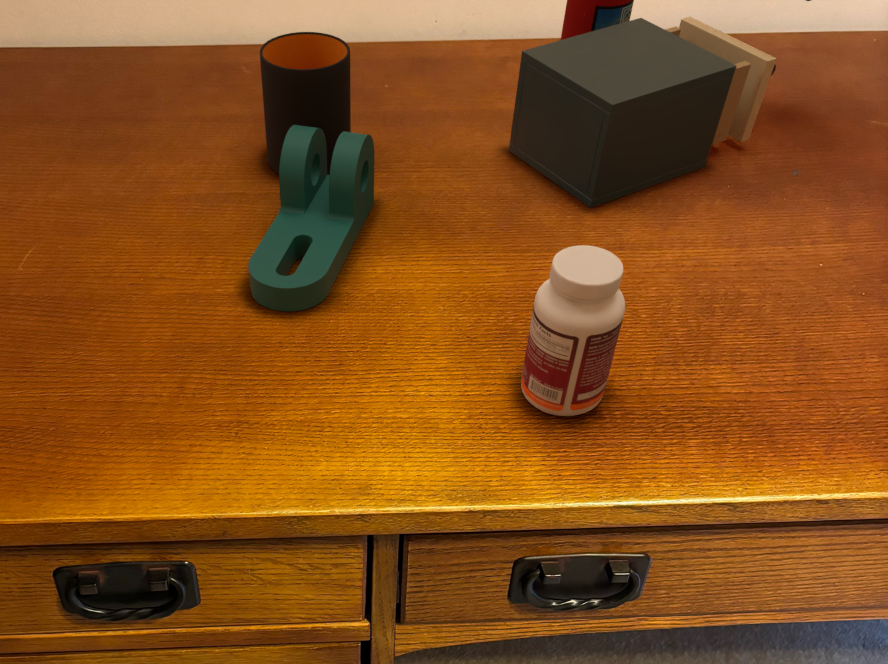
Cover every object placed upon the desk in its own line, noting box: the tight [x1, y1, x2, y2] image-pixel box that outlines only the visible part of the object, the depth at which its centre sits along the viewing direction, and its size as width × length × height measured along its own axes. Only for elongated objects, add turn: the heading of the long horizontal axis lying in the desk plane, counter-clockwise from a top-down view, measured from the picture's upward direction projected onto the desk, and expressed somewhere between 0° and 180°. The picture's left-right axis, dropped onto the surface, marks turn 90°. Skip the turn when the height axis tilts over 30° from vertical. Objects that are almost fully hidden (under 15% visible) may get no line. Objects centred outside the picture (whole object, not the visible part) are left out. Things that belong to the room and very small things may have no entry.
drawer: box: [664, 16, 778, 146], centre depth 90 cm, size 18×11×8 cm, turn 120°
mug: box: [259, 31, 352, 175], centre depth 88 cm, size 8×12×10 cm
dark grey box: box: [508, 17, 737, 209], centre depth 87 cm, size 15×13×10 cm
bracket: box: [247, 125, 376, 313], centre depth 78 cm, size 18×7×8 cm, turn 164°
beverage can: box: [560, 0, 635, 40], centre depth 97 cm, size 7×7×12 cm
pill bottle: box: [520, 244, 626, 417], centre depth 64 cm, size 6×6×11 cm
